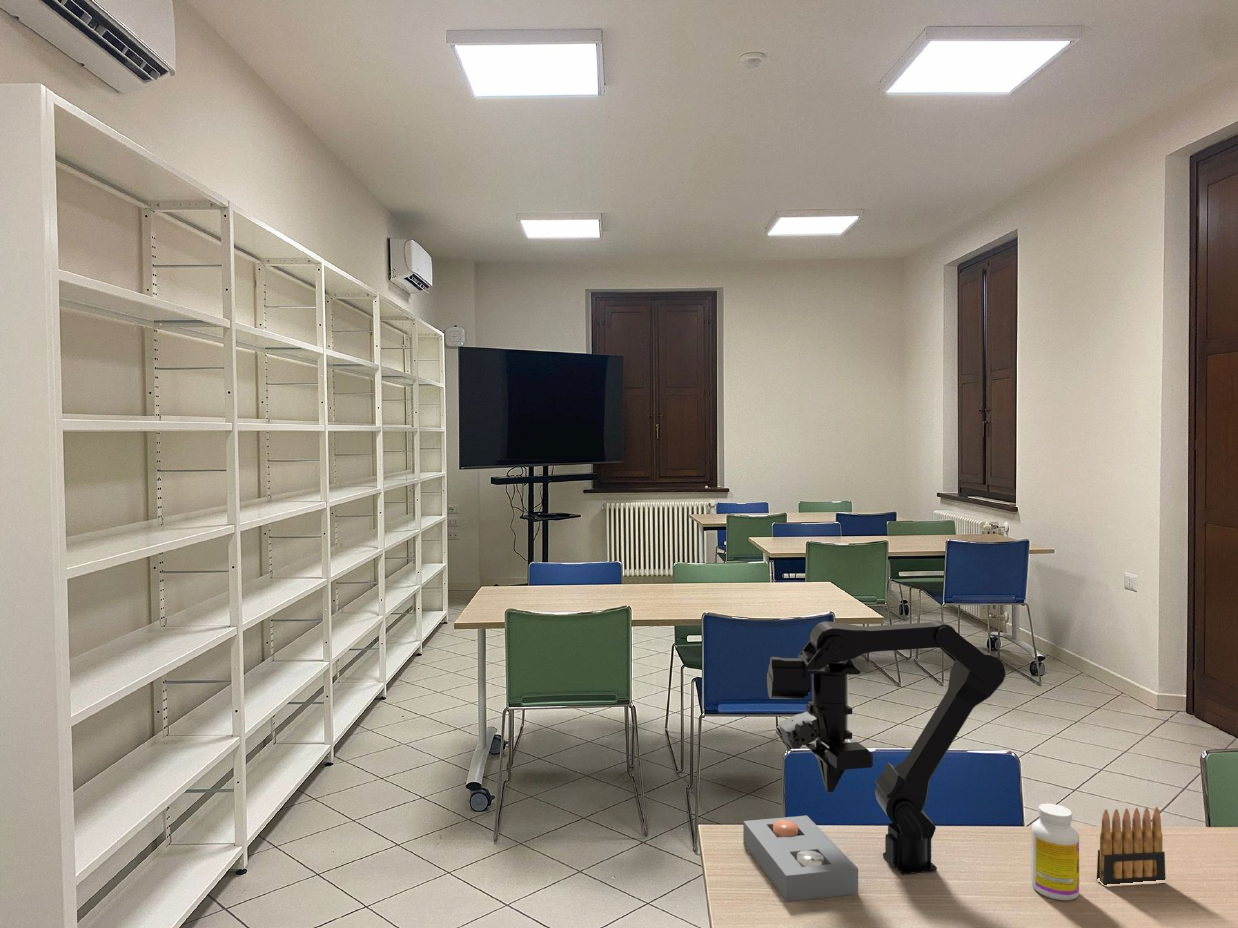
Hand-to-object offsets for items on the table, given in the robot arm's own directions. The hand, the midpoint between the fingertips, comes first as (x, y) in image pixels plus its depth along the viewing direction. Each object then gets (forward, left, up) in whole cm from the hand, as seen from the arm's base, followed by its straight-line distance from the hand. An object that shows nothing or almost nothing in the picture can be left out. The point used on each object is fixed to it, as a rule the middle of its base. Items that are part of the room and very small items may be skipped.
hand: (829, 791), depth 135 cm
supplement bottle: (-31, +15, -12) cm, 37 cm away
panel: (+6, +1, -12) cm, 13 cm away
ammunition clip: (-45, +15, -12) cm, 49 cm away
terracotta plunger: (+6, -4, -10) cm, 13 cm away
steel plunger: (+6, +6, -11) cm, 14 cm away
